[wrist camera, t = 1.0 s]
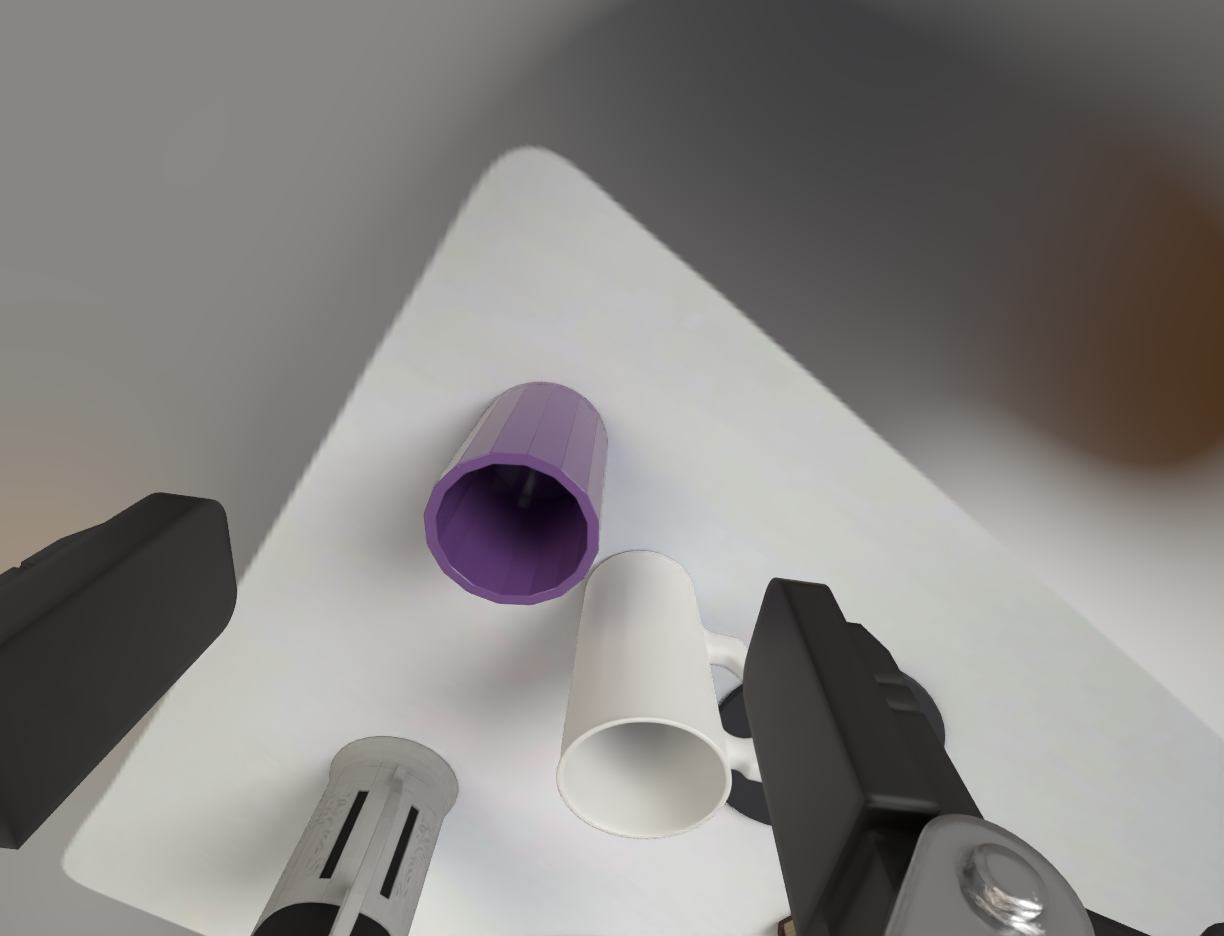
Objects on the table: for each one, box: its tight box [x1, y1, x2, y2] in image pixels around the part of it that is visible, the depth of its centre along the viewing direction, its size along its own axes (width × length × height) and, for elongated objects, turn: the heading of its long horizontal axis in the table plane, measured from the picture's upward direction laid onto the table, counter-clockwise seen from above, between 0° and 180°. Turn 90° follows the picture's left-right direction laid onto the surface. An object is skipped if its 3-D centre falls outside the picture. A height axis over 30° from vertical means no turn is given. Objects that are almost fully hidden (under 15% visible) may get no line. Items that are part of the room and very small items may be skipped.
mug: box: [556, 551, 762, 839], centre depth 29 cm, size 10×7×12 cm, turn 79°
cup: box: [424, 382, 608, 605], centre depth 26 cm, size 6×6×9 cm
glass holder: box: [251, 736, 458, 936], centre depth 33 cm, size 9×14×15 cm, turn 155°
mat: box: [718, 671, 945, 826], centre depth 38 cm, size 15×15×1 cm
